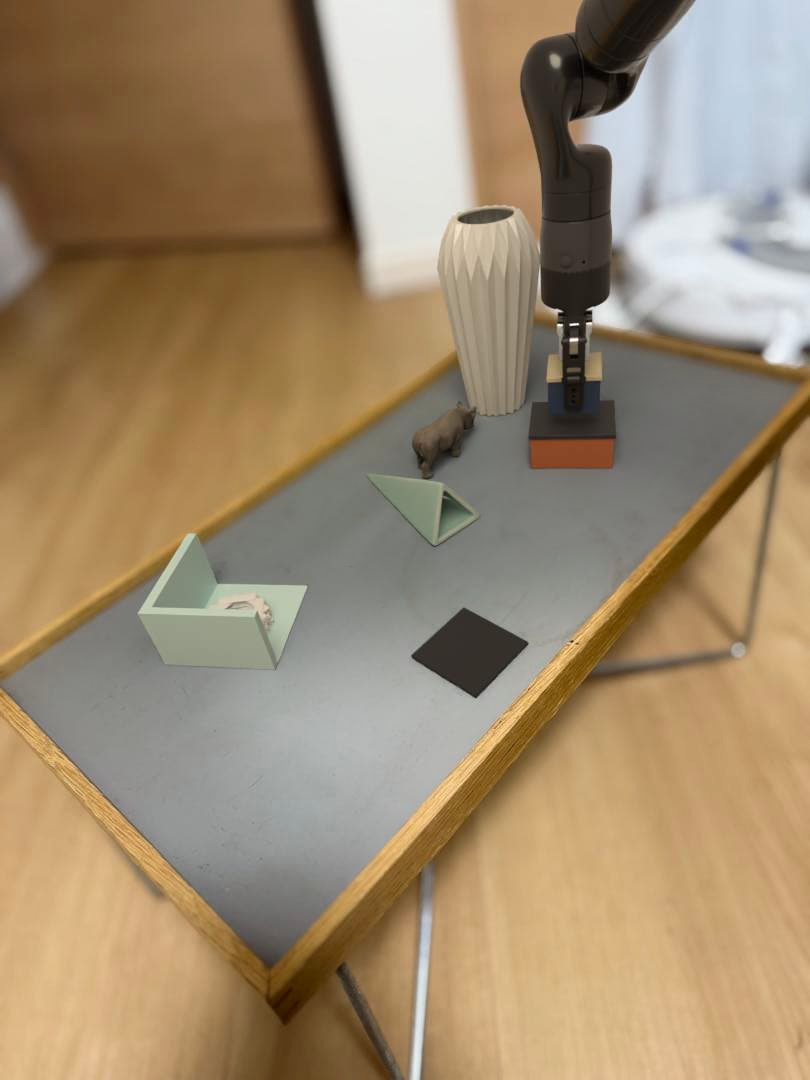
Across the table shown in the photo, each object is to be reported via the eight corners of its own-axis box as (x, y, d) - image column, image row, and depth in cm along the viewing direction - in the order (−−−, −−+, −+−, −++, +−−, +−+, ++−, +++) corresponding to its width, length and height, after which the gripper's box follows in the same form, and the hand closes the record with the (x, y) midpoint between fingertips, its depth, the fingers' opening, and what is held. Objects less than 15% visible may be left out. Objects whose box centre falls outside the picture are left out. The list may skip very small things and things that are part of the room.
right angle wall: (274, 669, 69) (254, 617, 64) (165, 664, 72) (137, 613, 67) (307, 585, 78) (291, 533, 73) (209, 583, 81) (187, 533, 76)
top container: (600, 388, 88) (601, 351, 85) (600, 414, 84) (602, 376, 81) (549, 390, 90) (548, 354, 87) (547, 415, 85) (546, 378, 82)
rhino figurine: (491, 431, 98) (488, 392, 94) (432, 482, 90) (426, 442, 87) (467, 424, 100) (463, 386, 96) (407, 473, 93) (401, 434, 89)
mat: (464, 609, 72) (463, 606, 72) (528, 644, 67) (528, 641, 67) (411, 658, 68) (411, 655, 68) (475, 698, 63) (475, 695, 63)
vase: (433, 412, 104) (410, 227, 87) (487, 374, 111) (475, 195, 94) (507, 436, 96) (496, 237, 80) (560, 393, 103) (561, 202, 87)
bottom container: (612, 433, 93) (614, 399, 90) (614, 469, 87) (616, 434, 84) (533, 434, 96) (532, 401, 93) (529, 469, 90) (528, 435, 86)
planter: (324, 501, 90) (417, 531, 77) (348, 458, 91) (443, 481, 78) (364, 528, 95) (457, 561, 82) (386, 487, 96) (481, 513, 83)
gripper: (613, 278, 70) (606, 424, 80) (610, 232, 80) (604, 366, 91) (536, 283, 71) (540, 426, 82) (543, 238, 82) (545, 369, 93)
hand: (574, 394), depth 86 cm, fingers closed on top container, 6 cm apart
